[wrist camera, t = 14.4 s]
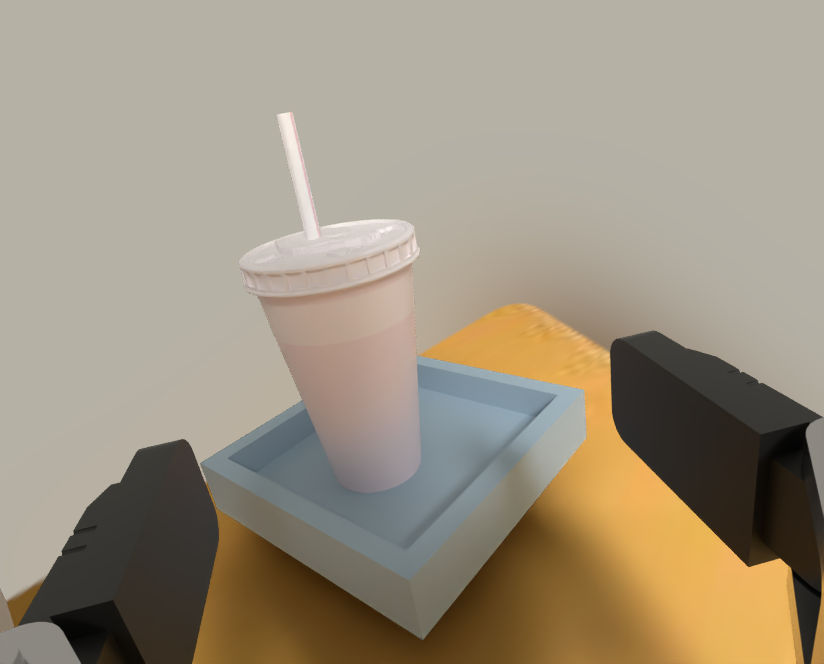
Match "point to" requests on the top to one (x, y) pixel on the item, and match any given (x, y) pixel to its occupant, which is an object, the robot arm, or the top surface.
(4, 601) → the cup
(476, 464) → the square pastel tray
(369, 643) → the top surface
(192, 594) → the robot arm
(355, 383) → the smoothie
